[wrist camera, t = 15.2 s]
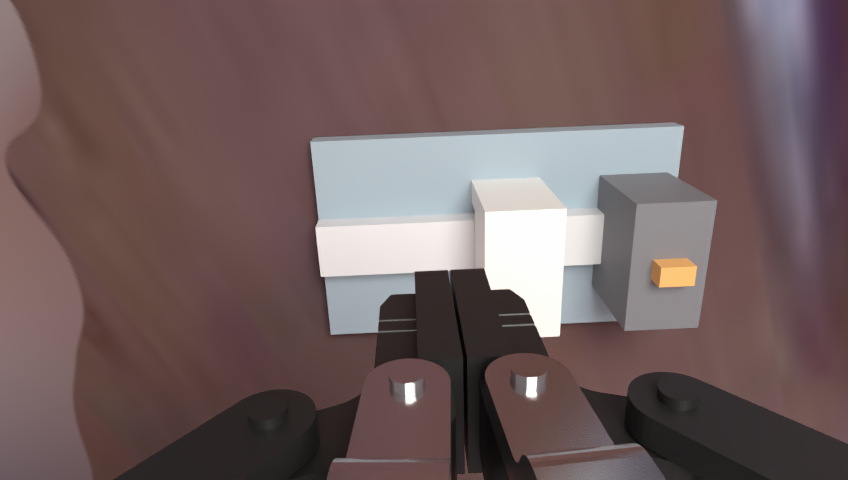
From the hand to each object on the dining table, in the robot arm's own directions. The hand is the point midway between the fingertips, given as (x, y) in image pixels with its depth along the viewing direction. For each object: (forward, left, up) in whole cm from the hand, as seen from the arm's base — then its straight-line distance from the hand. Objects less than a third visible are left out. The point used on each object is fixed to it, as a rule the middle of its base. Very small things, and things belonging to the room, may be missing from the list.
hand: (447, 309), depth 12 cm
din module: (+8, +6, -26) cm, 27 cm away
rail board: (+8, +5, -27) cm, 29 cm away
